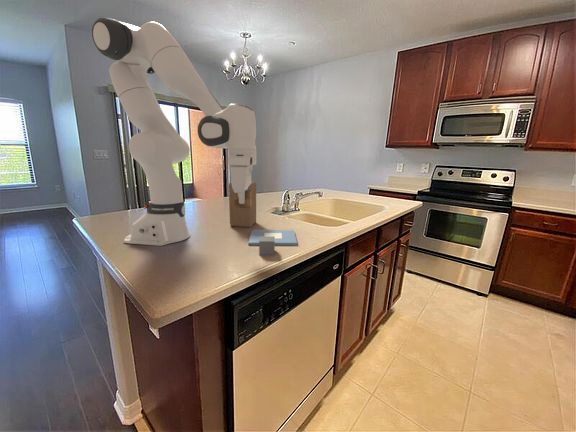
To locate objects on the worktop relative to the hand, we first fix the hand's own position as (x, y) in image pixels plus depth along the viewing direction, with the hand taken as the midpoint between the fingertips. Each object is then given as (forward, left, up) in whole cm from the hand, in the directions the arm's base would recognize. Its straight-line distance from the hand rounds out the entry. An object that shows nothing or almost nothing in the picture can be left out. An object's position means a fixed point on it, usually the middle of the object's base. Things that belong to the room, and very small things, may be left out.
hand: (243, 201), depth 84 cm
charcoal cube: (+8, -2, -17) cm, 19 cm away
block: (-4, +33, -17) cm, 37 cm away
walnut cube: (0, 0, -2) cm, 2 cm away
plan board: (+10, +13, -17) cm, 24 cm away
